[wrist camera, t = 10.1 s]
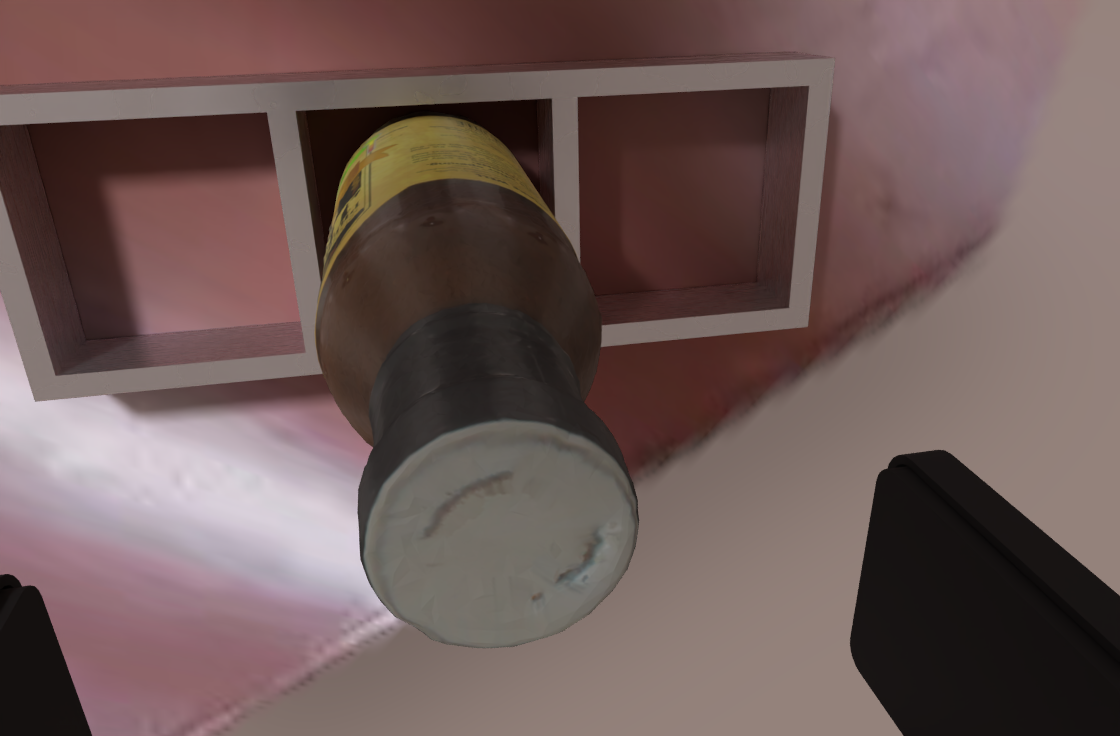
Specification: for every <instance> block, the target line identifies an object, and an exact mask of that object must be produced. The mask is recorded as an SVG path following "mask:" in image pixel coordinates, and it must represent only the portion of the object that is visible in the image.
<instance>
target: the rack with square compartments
mask: <svg viewBox="0 0 1120 736" xmlns="http://www.w3.org/2000/svg"><path fill="white" fill-rule="evenodd" d="M834 65H835V58H831V57H824V56H818V55H811V54H805V53H798V52H781V53H757V54H734V55H710V56H686V57H663V58H639V59H615V60H592V61H568V62H544V63H521V64H497V65H473V66H450V67H426V68H402V69H379V70H355V71H331V72H308V73H284V74H260V75H237V76H213V77H189V78H166V79H142V80H118V81H95V82H71V83H47V84H24V85H0V291H1V294H2V297H3V300H4V303H5V307H6V310H7V313H8V316H9V320H10V323H11V326H12V329H13V332H14V336H15V339H16V342H17V345H18V348H19V352H20V355H21V358H22V361H23V364H24V368H25V371H26V374H27V377H28V380H29V384H30V387H31V390H32V393H33V396H34V400H35V402H36V401H46V400H57V399H67V398H77V397H88V396H98V395H108V394H119V393H129V392H139V391H150V390H160V389H170V388H181V387H191V386H201V385H212V384H222V383H232V382H243V381H253V380H264V379H274V378H284V377H295V376H305V375H315V374H323V373H322V370H321V367H320V364H319V362H318V357H317V351H316V344H315V319H316V310H317V301H318V295H319V290H320V284H321V281H322V277H323V268H324V261H323V259H324V256H325V254H326V247H325V240H324V233H323V226H322V219H321V212H320V206H319V199H318V192H317V185H316V178H315V171H314V164H313V157H312V150H311V143H310V136H309V129H308V122H307V115H306V110H323V109H344V108H364V107H384V106H405V105H425V104H446V103H466V102H486V101H507V100H527V99H537V122H538V150H539V179H540V196H541V198H542V199H543V201H544V202H545V204H546V205H547V207H548V208H549V210H550V211H551V213H552V214H553V216H554V217H555V219H556V220H557V222H558V223H559V225H560V226H561V228H562V229H563V231H564V232H565V234H566V235H567V237H568V239H569V240H570V242H571V244H572V246H573V248H574V250H575V252H576V254H577V257H578V260H579V262H580V220H579V157H578V97H588V96H609V95H629V94H649V93H670V92H690V91H711V90H731V89H751V88H770V102H769V115H768V129H767V143H766V156H765V170H764V183H763V197H762V211H761V224H760V238H759V252H758V265H757V279H756V282H752V283H741V284H729V285H718V286H706V287H695V288H683V289H672V290H660V291H649V292H637V293H626V294H614V295H603V296H595V298H596V300H597V302H598V308H599V311H600V313H601V316H602V343H601V347H605V346H615V345H626V344H636V343H646V342H657V341H667V340H677V339H688V338H698V337H708V336H719V335H729V334H739V333H750V332H760V331H770V330H781V329H791V328H801V327H808V320H809V311H810V301H811V291H812V281H813V271H814V262H815V252H816V242H817V232H818V222H819V212H820V203H821V193H822V183H823V173H824V163H825V154H826V144H827V134H828V124H829V114H830V104H831V95H832V85H833V75H834ZM262 112H267V116H268V122H269V128H270V134H271V141H272V147H273V153H274V159H275V165H276V172H277V178H278V184H279V190H280V196H281V203H282V209H283V215H284V221H285V227H286V234H287V240H288V246H289V252H290V258H291V265H292V271H293V277H294V283H295V289H296V296H297V302H298V308H299V314H300V320H301V322H292V323H280V324H269V325H257V326H246V327H234V328H223V329H211V330H200V331H188V332H177V333H165V334H154V335H142V336H131V337H119V338H108V339H96V340H86V339H85V335H84V332H83V328H82V324H81V321H80V317H79V313H78V310H77V306H76V302H75V299H74V295H73V292H72V288H71V284H70V281H69V277H68V273H67V270H66V266H65V263H64V259H63V255H62V252H61V248H60V244H59V241H58V237H57V233H56V230H55V226H54V223H53V219H52V215H51V212H50V208H49V204H48V201H47V197H46V194H45V190H44V186H43V183H42V179H41V175H40V172H39V168H38V164H37V161H36V157H35V154H34V150H33V146H32V143H31V139H30V135H29V132H28V128H27V125H26V124H38V123H58V122H78V121H99V120H119V119H140V118H160V117H180V116H201V115H221V114H242V113H262Z"/></svg>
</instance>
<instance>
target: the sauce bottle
mask: <svg viewBox="0 0 1120 736" xmlns="http://www.w3.org/2000/svg"><path fill="white" fill-rule="evenodd" d="M329 233H330V234H329V236H328V243H327V245H326V254H325V256H324V259H323V261H324V268H323V277H322V281H321V284H320V290H319V295H318V301H317V310H316V319H315V344H316V351H317V357H318V362H319V364H320V367H321V370H322V373H323V376H324V378H325V380H326V382H327V385H328V387H329V390H330V392H331V394H332V395H333V397H334V399H335V401H336V403H337V405H338V407H339V408H340V410H341V412H342V414H343V415H344V416H345V417H346V418H347V420H348V421H349V423H350V424H351V426H352V427H353V428H354V429H355V430H356V431H357V432H358V433H359V435H360V436H361V437H362V438H363V439H364V440H365V441H366V443H368V444H369V445H371V446H372V447H373V449H372V451H371V453H370V455H369V458H368V462H367V465H366V466H365V468H364V471H363V475H362V478H361V482H360V485H359V489H358V520H359V541H360V557H361V562H362V565H363V568H364V570H365V573H366V576H367V579H368V581H369V583H370V585H371V587H372V588H373V590H374V592H375V593H376V595H377V596H378V598H379V599H380V601H381V602H382V603H383V604H384V605H385V606H386V608H387V609H388V610H389V611H390V612H391V613H392V614H393V615H394V616H395V617H397V618H399V619H400V620H402V621H404V622H406V623H408V624H410V625H412V626H414V627H415V628H417V629H418V630H420V631H421V632H423V633H424V634H425V635H427V636H428V637H429V638H430V639H432V640H435V641H438V642H441V643H444V644H449V645H457V646H465V647H474V648H499V647H514V646H518V645H521V644H525V643H528V642H531V641H535V640H538V639H542V638H545V637H548V636H552V635H554V634H557V633H560V632H562V631H564V630H565V629H567V628H568V627H570V626H571V625H573V624H574V623H576V622H578V621H579V620H581V619H582V618H584V617H585V616H587V615H589V614H590V613H591V612H592V611H593V610H594V609H595V608H596V607H597V606H598V605H599V604H600V603H601V602H602V601H603V600H604V599H605V598H606V597H607V596H608V595H609V594H610V593H611V592H612V591H613V589H614V588H615V587H616V585H617V584H618V582H619V581H620V579H621V578H622V576H623V575H624V573H625V572H626V570H627V569H628V566H629V563H630V560H631V557H632V555H633V552H634V549H635V545H636V540H637V534H638V525H639V517H638V500H637V496H636V492H635V489H634V485H633V482H632V480H631V478H630V476H629V473H628V469H627V467H626V464H625V462H624V458H623V455H622V452H621V450H620V448H619V446H618V444H617V442H616V440H615V438H614V436H613V435H612V433H611V432H610V431H609V429H608V428H607V426H606V425H605V424H604V422H603V421H602V420H601V419H600V418H599V417H598V416H597V415H596V414H595V413H594V412H593V411H592V410H590V409H589V408H588V407H587V405H586V404H585V403H584V401H585V399H586V397H587V395H588V393H589V391H590V388H591V385H592V383H593V380H594V376H595V374H596V371H597V365H598V360H599V355H600V348H601V343H602V316H601V313H600V311H599V308H598V302H597V300H596V298H595V294H594V291H593V289H592V287H591V285H590V282H589V280H588V278H587V275H586V273H585V270H583V268H582V266H581V264H580V262H579V260H578V257H577V254H576V252H575V250H574V248H573V246H572V244H571V242H570V240H569V239H568V237H567V235H566V234H565V232H564V231H563V229H562V228H561V226H560V225H559V223H558V222H557V220H556V219H555V217H554V216H553V214H552V213H551V211H550V210H549V208H548V207H547V205H546V204H545V202H544V201H543V199H542V198H541V196H540V195H539V193H538V192H537V190H536V189H535V187H534V186H533V184H532V182H531V181H530V179H529V178H528V176H527V175H526V173H525V172H524V170H523V169H522V167H521V166H520V164H519V163H518V161H517V160H516V158H515V157H514V155H513V154H512V152H511V151H510V150H509V149H508V148H507V147H506V146H505V145H504V144H503V143H502V142H501V141H500V140H499V139H498V138H496V137H495V136H494V135H492V134H491V133H489V132H488V131H487V130H486V129H485V128H483V127H482V126H481V125H479V124H478V123H476V122H475V121H473V120H471V119H468V118H467V117H464V116H456V115H449V114H444V113H440V112H429V111H424V112H414V113H410V114H407V115H405V116H402V117H397V118H394V119H391V120H390V121H388V122H387V123H385V124H384V125H383V126H381V127H380V128H378V129H377V130H376V131H375V132H374V133H373V135H372V136H371V137H370V138H369V139H367V140H366V141H365V142H364V143H363V144H362V145H361V146H360V147H359V148H358V150H357V151H356V152H355V153H354V155H353V156H352V158H351V159H350V161H349V162H348V164H347V165H346V168H345V170H344V173H343V175H342V178H341V180H340V184H339V188H338V192H337V197H336V204H335V210H334V216H333V220H332V223H331V225H330V228H329Z"/></svg>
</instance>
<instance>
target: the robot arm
mask: <svg viewBox="0 0 1120 736" xmlns="http://www.w3.org/2000/svg"><path fill="white" fill-rule="evenodd" d="M850 647H851V653H852V657H853V659H854V662H855V665H856V667H857V669H858V670H859V672H860V674H861V675H862V676H863V678H864V679H865V681H866V682H867V683H868V685H869V687H870V688H871V689H872V691H873V692H874V694H875V695H876V697H877V698H878V700H879V701H880V702H881V704H882V705H883V707H884V708H885V710H886V711H887V712H888V714H889V715H890V717H891V718H892V720H893V721H894V723H895V724H896V725H897V727H898V728H899V730H900V731H901V732H902V734H903V736H1120V596H1119V595H1118V594H1117V593H1116V592H1114V591H1113V590H1112V589H1111V588H1110V587H1108V586H1107V585H1106V584H1105V583H1104V582H1103V581H1101V580H1100V579H1099V578H1098V577H1097V576H1096V575H1094V574H1093V573H1092V572H1091V571H1090V570H1088V569H1087V568H1086V567H1085V566H1084V565H1082V564H1081V563H1080V562H1079V561H1078V560H1077V559H1075V558H1074V557H1073V556H1072V555H1071V554H1069V553H1068V552H1067V551H1066V550H1065V549H1063V548H1062V547H1061V546H1060V545H1059V544H1058V543H1056V542H1055V541H1054V540H1053V539H1052V538H1050V537H1049V536H1048V535H1047V534H1046V533H1044V532H1043V531H1042V530H1041V529H1039V527H1037V526H1036V525H1035V524H1034V523H1032V522H1031V521H1030V520H1029V519H1028V518H1026V517H1025V516H1024V515H1023V514H1022V513H1021V512H1020V511H1018V510H1017V509H1016V508H1015V507H1013V506H1012V505H1011V504H1010V503H1009V502H1008V501H1006V500H1005V499H1004V498H1003V497H1002V496H1000V495H999V494H998V493H997V492H996V491H995V490H993V489H992V488H991V487H990V486H989V485H987V484H986V483H985V482H984V481H983V480H981V479H980V478H979V477H978V476H977V475H975V474H974V473H973V472H972V471H971V470H969V469H968V468H967V467H966V466H965V465H964V464H962V463H961V462H960V461H959V460H958V459H957V458H955V457H954V456H953V455H952V454H950V453H948V452H946V451H944V450H934V451H926V452H919V453H911V454H904V455H898V456H896V457H894V458H893V459H892V460H891V462H890V463H889V466H888V469H884V470H883V471H881V472H880V473H879V475H878V478H877V481H876V487H875V493H874V499H873V505H872V511H871V517H870V522H869V529H868V535H867V541H866V547H865V553H864V559H863V565H862V571H861V577H860V583H859V589H858V595H857V602H856V607H855V613H854V619H853V625H852V631H851V637H850ZM0 736H92V734H91V731H90V728H89V725H88V723H87V720H86V717H85V714H84V712H83V709H82V706H81V703H80V701H79V698H78V695H77V692H76V690H75V687H74V684H73V681H72V678H71V676H70V673H69V670H68V667H67V665H66V662H65V659H64V656H63V654H62V651H61V648H60V645H59V643H58V640H57V637H56V634H55V632H54V629H53V626H52V623H51V620H50V618H49V615H48V612H47V609H46V607H45V604H44V601H43V598H42V596H41V594H40V592H39V590H38V589H37V588H36V587H35V586H23V587H22V586H21V584H20V582H19V580H18V579H17V578H16V577H15V576H13V575H9V574H4V575H0Z"/></svg>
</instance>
